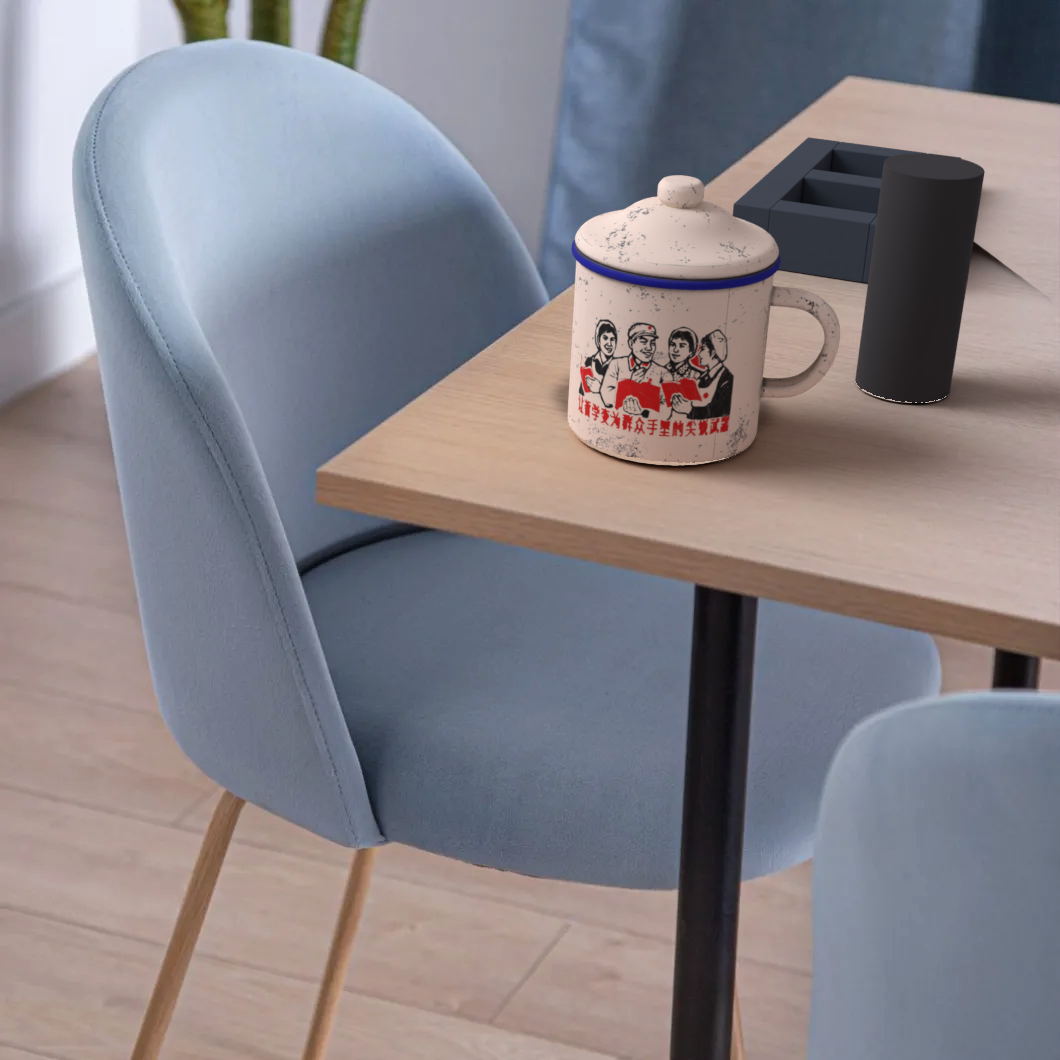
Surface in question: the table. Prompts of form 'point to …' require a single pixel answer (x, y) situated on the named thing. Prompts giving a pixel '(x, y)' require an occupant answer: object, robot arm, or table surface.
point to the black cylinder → (918, 276)
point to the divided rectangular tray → (821, 207)
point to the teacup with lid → (679, 328)
